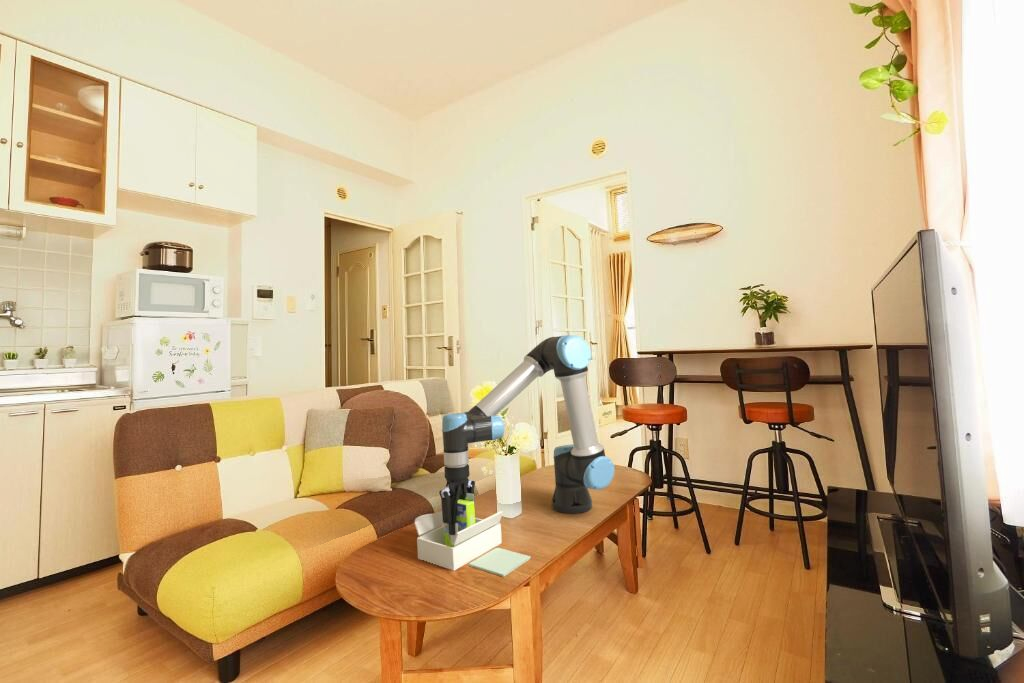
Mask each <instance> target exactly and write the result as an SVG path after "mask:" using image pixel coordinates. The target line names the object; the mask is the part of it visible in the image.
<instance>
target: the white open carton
mask: <svg viewBox="0 0 1024 683" xmlns="http://www.w3.org/2000/svg"><path fill="white" fill-rule="evenodd" d="M482 520H484V519H482V518H479V517H475V524H476V523H478V522H480V521H482ZM502 538H503V537H502V524H501V523H500V522H499V523H497V524H496V525H494V526H492V527H490V528H488V529H486V530H484V531H482V532H480V533H478V534H476V536H474V537H472V538H470V539H468V540H466V541H464V542H462V543H461V544H459V545H457V546H455V547H449V546H446V545H445V533H444V525H442V527H440V528H438V529H436V530H434V531H431V532H429V533H427V534H425V535H423V536H421V537H419V536H418V537H417V538H416V546H417V548H416V549H417V559H418V560H421V561H423V560H424V562H426V561H427V563H429V562H430V564H432V563H433V565H435V564H436V566H438V565H439V567H441V568H445V569H447V570H450V571H453V572H454V571H456V570H457V569H460V568H462V567H463V566H465V565H466V564H469V563H471V562H472V561H474V560H476V559H478V558H479V557H481V556H483V555H484V554H486V553H488V552H490V551H491V550H493V549H495V548H496V547H497V546H500V545H501V544H502V541H503V540H502Z"/></svg>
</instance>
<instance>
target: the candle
mask: <svg viewBox="0 0 1024 683" xmlns="http://www.w3.org/2000/svg"><path fill="white" fill-rule="evenodd" d="M432 514H433V513H426V514H423V515H419V516H418V517H415V519H414V522H415V521H418V520H420V519H423V518H425V517H427V516H430V515H432ZM442 526H443V525H440V526H438V527H436V528H434V529H432V530H429V531H427V532H425V533H423V534H421V535H418V534H417V536H418V537H421V536H423V535H425V534H427V533H429V532H431V531H434V530H436V529H438V528H440V527H442Z"/></svg>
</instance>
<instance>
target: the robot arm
mask: <svg viewBox="0 0 1024 683" xmlns="http://www.w3.org/2000/svg"><path fill="white" fill-rule="evenodd" d="M591 358H592V351H591V348H590V345H589V344H588V342H587V341H586V339H585V338H582V337H581V336H579V335H573V334H571V335H570V334H565V335H561V336H551V337H547V338H546V339H544V340H543V341H540V342H539V343H538V344H537V345H536V346H535V347H534V348H532V350H530V351H529V352H528V353H527V354H526V355H525V356H524V357H523V361H522V362H521V363H520V364H519V365H518V366H517V367H516V368H515V369H514V370H512V372H510V373H509V374H508V375H506V377H504V379H503V380H501V381H500V382H499V383H498V384H497V385H496V386H495V387H493V388H492V390H490V391H489V392H488V393H487V394H486V395H485V396H484V397H483V398H481V399H480V401H478V402H477V403H476V404H475V405H473V407H472V408H470V409H469V410H468V411H465V412H454V413H453V412H452V413H446V414H445V415H443V416H442V422H441V424H442V425H441V426H442V427H441V428H442V429H441V432H442V443H443V444H442V446H443V464H444V468H443V469H444V478H445V480H446V484H445V487H444V489H443V490H439V493H438V494H439V496H440V498H441V499H440V500H441V511H442V516H443V523H447V524H449V534H450V537H451V544H452V545H453V543H454V540H455V537H456V534H457V532H458V523H456V515H457V503H458V500H459V499H463V500H464V499H465V497H466V493H470V494H474V495H475V487H476V481H475V480H471V479H470V478H469V477H470V464H469V463H470V457H469V456H470V455H469V444H473V443H480V442H481V443H482V442H487V441H491V442H492V441H496V440H500V439H502V438H503V437H504V436H505V423H504V420H503V418H502V417H501V416H500V415H498V414H500V412H501V411H503V409H505V408H506V407H507V405H509V404H510V403H511V402H513V400H514V399H515V398H517V396H519V395H520V393H522V392H523V391H524V390H525V389H526V388H527V387H528V386H529V385H530V384H532V382H534V381H535V380H536V379H537V378H538V377H540V378H541V377H543V376H544V375H545V374H547V372H549V371H553V374H554V377H555V378H556V379H557V380H559V382H560V385H561V390H562V396H563V400H564V405H565V409H566V413H567V414H566V415H567V420H568V425H569V429H570V434H571V439H572V443H573V444H571V443H570V444H563V445H559V446H556V447H555V448H553V464H554V465H553V467H554V482H555V486H554V491H553V494H552V499H551V508H552V510H554V511H556V512H559V513H563V514H580V513H585V512H588V511H590V510H592V509H593V499H592V497H591V494H590V490H595V491H599V490H600V491H602V490H604V489H606V488H607V487H608V486H609V485H610V484H611V482H612V480H613V479H614V475H615V465H614V462H613V461H612V460H611V459H610V458H609V457H608V456H606V452H605V448H604V445H602V444H601V443H600V442H599V439H598V435H597V429H596V426H595V419H594V415H593V411H592V405H591V401H590V396H589V391H588V386H587V385H588V384H587V381H586V375H587V373H588V372H589V368H588V365H589V363H590V361H591ZM505 395H506V397H505ZM469 479H470V480H469ZM453 496H454V497H453ZM475 506H476V505H475V503H474V507H475ZM457 545H459V544H457ZM457 545H455V546H457Z"/></svg>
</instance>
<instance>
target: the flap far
mask: <svg viewBox="0 0 1024 683" xmlns="http://www.w3.org/2000/svg"><path fill="white" fill-rule="evenodd" d="M431 514H432V515H430V516H427V517H425V518H423V519H420V520H418V521H415V520H414V523H413V524H414V526H415V530H416V533H417V536H418V535H421V534H423V533H425V532H427V531H429V530H432V529H434V528H436V527H438V526H440V525H442V526H444V523H443V516H442V510H440V511H438V512H435V513H431Z"/></svg>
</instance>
